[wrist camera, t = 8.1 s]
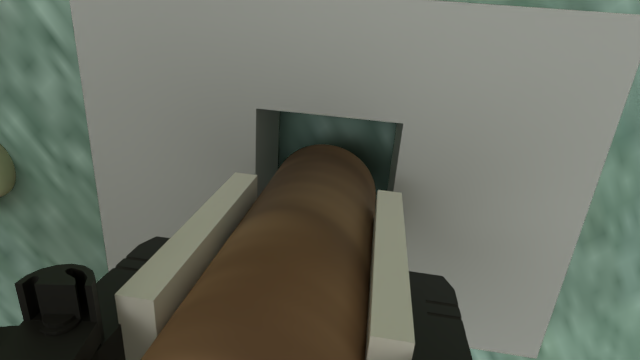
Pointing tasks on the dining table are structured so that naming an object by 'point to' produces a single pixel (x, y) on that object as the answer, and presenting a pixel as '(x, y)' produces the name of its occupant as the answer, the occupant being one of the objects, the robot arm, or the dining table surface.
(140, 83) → the hole board
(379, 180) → the dining table surface
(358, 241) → the long pin
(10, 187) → the short pin
